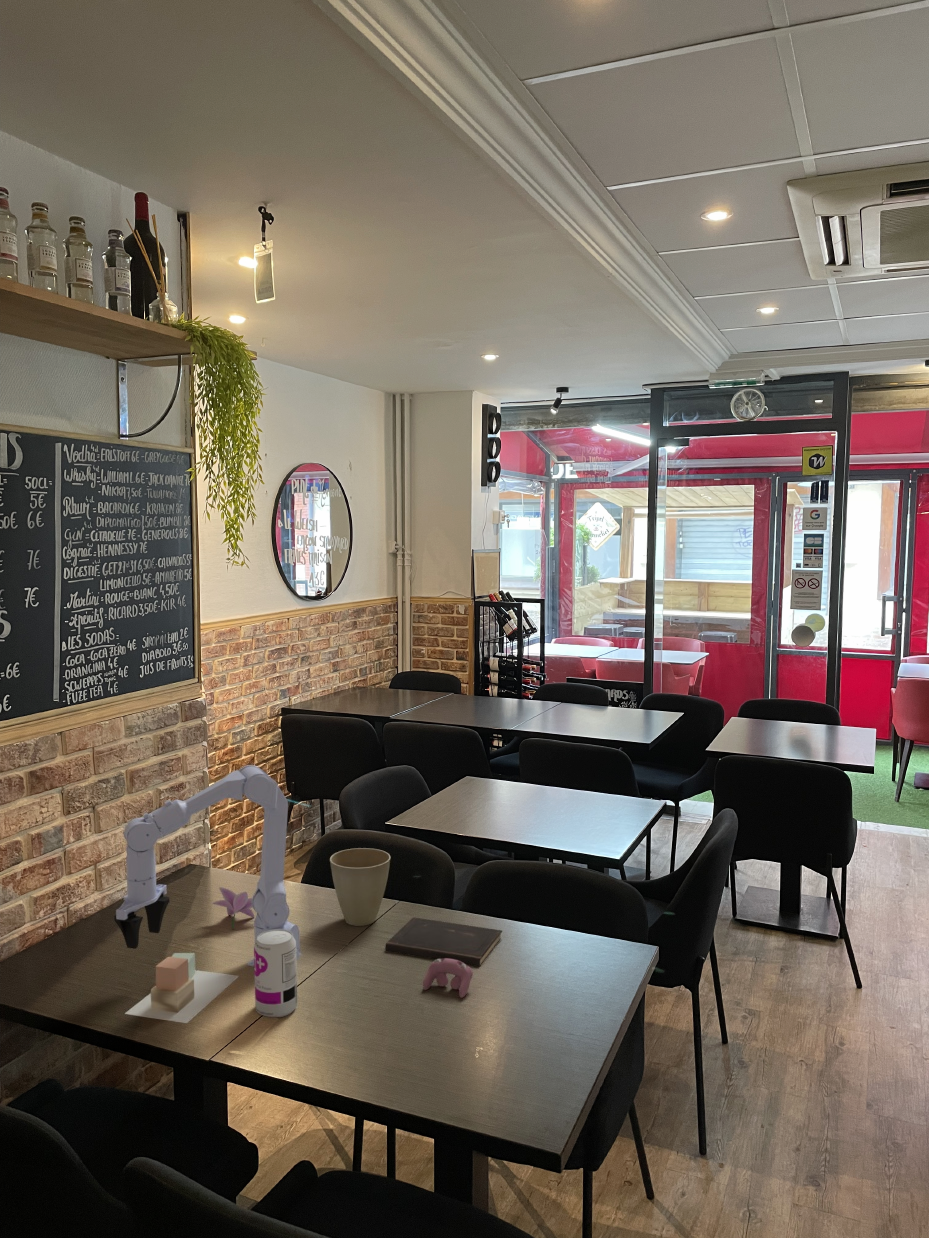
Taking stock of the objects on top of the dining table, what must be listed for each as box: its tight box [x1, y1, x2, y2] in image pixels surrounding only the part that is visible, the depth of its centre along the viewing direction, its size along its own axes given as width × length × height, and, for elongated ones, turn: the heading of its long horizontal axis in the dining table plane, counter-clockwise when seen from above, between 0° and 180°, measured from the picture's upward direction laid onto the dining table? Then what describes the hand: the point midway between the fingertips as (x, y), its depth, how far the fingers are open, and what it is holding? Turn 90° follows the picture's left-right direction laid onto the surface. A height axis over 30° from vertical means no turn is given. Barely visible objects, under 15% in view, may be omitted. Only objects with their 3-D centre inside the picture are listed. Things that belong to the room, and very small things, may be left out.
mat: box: [124, 969, 240, 1024], centre depth 185 cm, size 14×20×1 cm
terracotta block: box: [155, 956, 189, 991], centre depth 181 cm, size 4×4×4 cm
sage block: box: [171, 952, 196, 979], centre depth 192 cm, size 4×4×4 cm
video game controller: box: [422, 958, 474, 999], centre depth 188 cm, size 10×5×7 cm, turn 66°
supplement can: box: [253, 929, 298, 1019], centre depth 179 cm, size 8×8×15 cm
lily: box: [212, 886, 255, 930], centre depth 221 cm, size 12×12×10 cm
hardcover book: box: [384, 916, 503, 968], centre depth 209 cm, size 16×23×2 cm
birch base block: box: [150, 979, 194, 1013], centre depth 181 cm, size 6×6×4 cm
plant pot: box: [329, 847, 391, 927], centre depth 223 cm, size 15×15×16 cm
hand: (143, 939), depth 188 cm, fingers open, 7 cm apart
